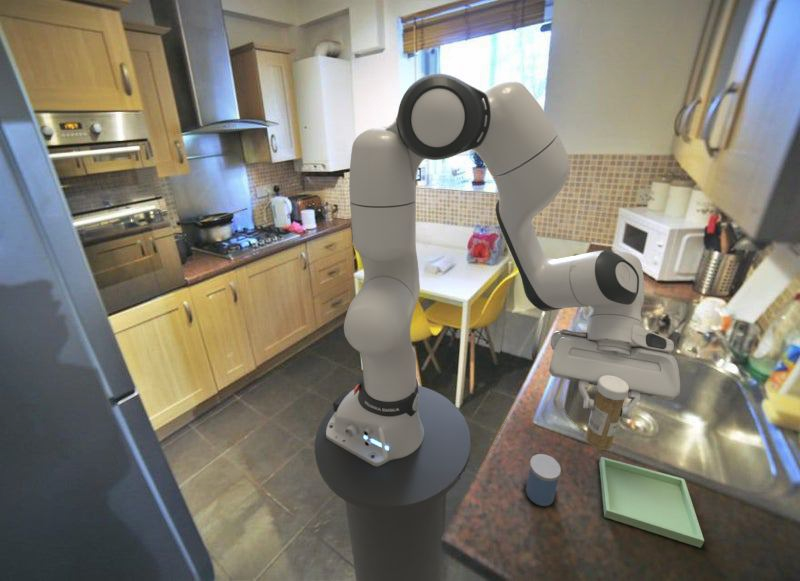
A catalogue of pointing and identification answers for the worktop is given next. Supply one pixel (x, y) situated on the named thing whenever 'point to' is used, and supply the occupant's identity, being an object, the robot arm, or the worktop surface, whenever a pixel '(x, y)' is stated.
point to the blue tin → (542, 479)
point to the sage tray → (649, 501)
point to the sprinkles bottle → (606, 411)
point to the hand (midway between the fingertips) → (606, 413)
